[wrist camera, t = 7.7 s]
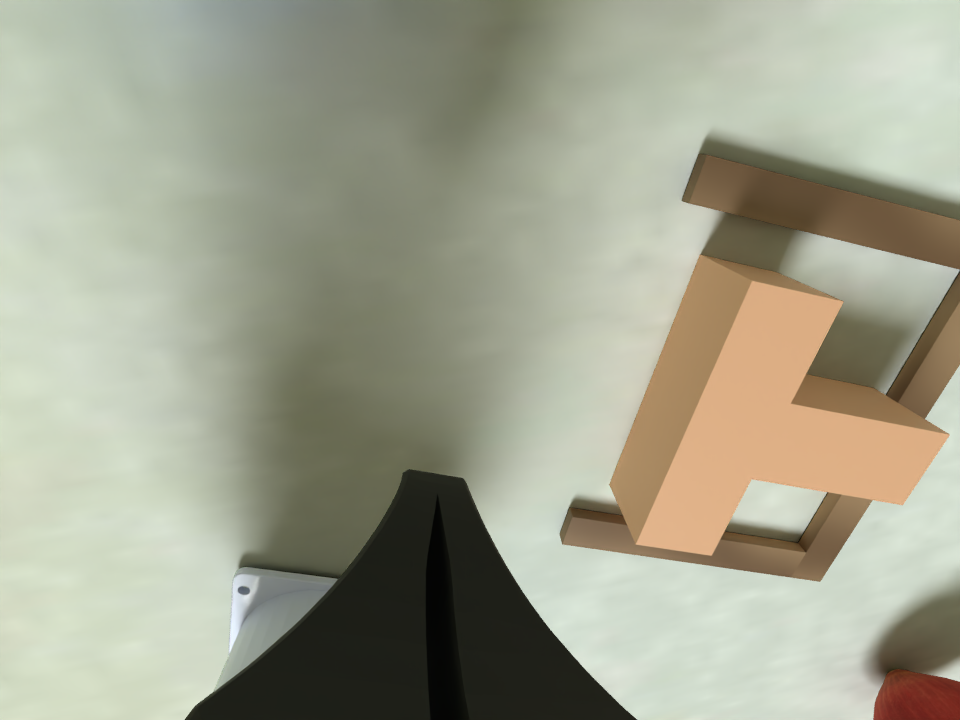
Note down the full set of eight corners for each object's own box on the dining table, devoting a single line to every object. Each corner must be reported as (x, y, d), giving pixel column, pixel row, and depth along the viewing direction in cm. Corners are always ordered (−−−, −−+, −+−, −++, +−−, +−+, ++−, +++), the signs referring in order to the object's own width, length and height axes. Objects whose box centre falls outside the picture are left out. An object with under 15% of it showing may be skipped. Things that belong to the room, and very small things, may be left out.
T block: (609, 484, 22) (635, 544, 19) (699, 254, 18) (752, 280, 15) (799, 515, 23) (854, 577, 20) (921, 305, 20) (1013, 340, 16)
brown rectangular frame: (812, 571, 25) (820, 581, 24) (559, 534, 23) (562, 544, 23) (1021, 237, 19) (1039, 240, 18) (698, 153, 17) (707, 154, 16)
